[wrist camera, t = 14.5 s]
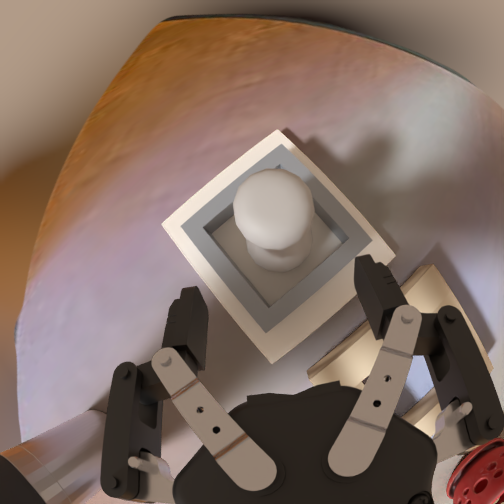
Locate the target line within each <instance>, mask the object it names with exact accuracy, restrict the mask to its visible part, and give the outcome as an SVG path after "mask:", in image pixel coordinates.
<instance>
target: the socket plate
mask: <svg viewBox="0 0 504 504" xmlns="http://www.w3.org/2000/svg"><path fill="white" fill-rule="evenodd" d="M266 168H270V169H285V170H287V171H289V172H291V173H293V174H295V175H297V176H299V177H300V178H301V179H302V180H303V182H304V183H305V184H306V185H307V186H308V188H309V189H310V190H311V194H312V199H313V204H314V209H315V212H314V216H313V220H312V224H311V230H312V236H313V243H312V247H311V251H310V255H309V256H308V257H307V258H306V259H305V260H304V262H303V263H302V264H301V265H300V266H299V267H297V268H294V269H292V270H289V271H287V272H271V271H268V270H266V269H264V268H263V267H261V266H259V265H257V264H256V263H255V262H254V260H253V259H252V257H251V256H250V254H249V253H248V251H247V244H246V238H245V237H244V235H243V234H242V232H241V231H240V229H239V228H238V226H237V225H236V222H235V215H234V209H233V202H234V199H235V196H236V193H237V190H238V187H239V186H240V185H241V184H242V183H243V182H244V181H245V180H246V179H247V178H248V177H249V176H250V175H251V174H253V173H256V172H259V171H261V170H264V169H266ZM162 226H163V227H164V229H165V230H166V231H167V233H168V234H169V236H170V237H171V238H172V240H173V241H174V243H175V244H176V245H177V247H178V248H179V249H180V251H181V252H182V253H183V255H184V256H185V257H186V259H187V260H188V261H189V263H190V264H191V265H192V267H193V268H194V269H195V271H196V272H197V273H198V275H199V276H200V277H201V279H202V280H203V281H204V282H205V284H206V285H207V286H208V288H209V289H210V290H211V291H212V293H213V294H214V295H215V297H216V298H217V299H218V300H219V302H220V303H221V304H222V305H223V307H224V308H225V309H226V310H227V312H228V313H229V314H230V315H231V317H232V318H233V319H234V320H235V322H236V323H237V324H238V325H239V326H240V328H241V329H242V330H243V331H244V332H245V334H246V335H247V336H248V337H249V338H250V340H251V341H252V342H253V343H254V344H255V346H256V347H257V348H258V349H259V350H260V351H261V353H262V354H263V355H264V356H265V357H266V358H267V360H268V361H269V362H270V363H271V364H273V363H274V362H276V361H277V360H278V359H280V358H281V357H282V356H284V355H285V354H286V353H288V352H289V351H290V350H291V349H293V348H294V347H295V346H297V345H298V344H299V343H300V342H302V341H303V340H304V339H305V338H307V337H308V336H309V335H310V334H311V333H313V332H314V331H315V330H316V329H317V328H319V327H320V326H321V325H322V324H323V323H325V322H326V321H327V320H328V319H329V318H330V317H332V316H333V315H334V314H335V313H336V312H337V311H338V310H340V309H341V308H342V307H343V306H344V305H345V304H346V303H347V302H349V301H350V300H351V299H352V298H353V297H354V296H355V295H356V294H357V292H356V290H355V286H354V263H355V257H357V256H361V255H366V254H370V255H371V256H372V258H373V260H374V262H375V263H378V262H382V263H383V264H384V265H385V266H386V265H387V264H388V263H389V262H390V261H391V260H392V259H393V258H394V257H395V256H396V255H395V254H394V253H393V251H392V250H391V249H390V248H389V246H388V245H387V244H386V243H385V241H384V240H383V239H382V238H381V236H380V235H379V234H378V233H377V232H376V230H375V229H374V228H373V227H372V226H371V225H370V223H369V222H368V221H367V220H366V219H365V218H364V216H363V215H362V214H361V213H360V212H359V211H358V210H357V208H356V207H355V206H354V205H353V204H352V203H351V202H350V201H349V200H348V199H347V197H346V196H345V195H344V194H343V193H342V192H341V191H340V190H339V189H338V188H337V187H336V186H335V185H334V184H333V182H332V181H331V180H330V179H329V178H328V177H327V176H326V175H325V174H324V173H323V172H322V171H321V170H320V169H319V168H318V167H317V166H316V165H315V164H314V163H313V162H312V161H311V160H310V159H309V158H308V157H307V156H306V155H305V154H304V153H303V152H302V151H301V150H299V149H298V148H297V147H296V146H295V145H294V144H293V143H292V142H291V141H290V140H289V139H288V138H287V137H286V136H284V135H283V134H282V133H281V132H280V131H279V130H278V129H277V130H276V131H274V132H273V133H272V134H270V135H269V136H267V137H266V138H265V139H263V140H262V141H261V142H259V143H258V144H257V145H255V146H254V147H253V148H251V149H250V150H249V151H248V152H246V153H245V154H244V155H242V156H241V157H240V158H239V159H237V160H236V161H235V162H233V163H232V164H231V165H230V166H228V167H227V168H226V169H225V170H223V171H222V172H221V173H220V174H218V175H217V176H216V177H215V178H214V179H212V180H211V181H210V182H209V183H208V184H206V185H205V186H204V187H203V188H202V189H200V190H199V191H198V192H197V193H196V194H195V195H193V196H192V197H191V198H190V199H189V200H188V201H186V202H185V203H184V204H183V205H182V206H181V207H180V208H178V209H177V210H176V211H175V212H174V213H173V214H172V215H171V216H170V217H168V218H167V219H166V220H165V221H164V222H163V223H162Z"/></svg>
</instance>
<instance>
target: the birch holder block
mask: <svg viewBox="0 0 504 504" xmlns="http://www.w3.org/2000/svg"><path fill="white" fill-rule="evenodd" d="M400 289H401V291H402V292H403V294H404V296H405V298H406V300H407V302H408V303H409V305H411V306H414V307H415V308H417V309H418V310H419V311H420V312H421V313H438V311H439V309H440V308H441V307H443V306H446V305H451V306H454V307H456V308H458V309H459V310H460V312H461V313H462V315H463V317H464V319H465V321H466V323H467V325H468V327H469V329H470V331H471V333H472V335H473V337H474V339H475V341H476V343H477V345H478V348H479V350H480V352H481V354H482V357H483V359H484V361H485V364H486V366H487V369H488V371H489V374H490V373H491V371H492V370H493V369H494V368H493V366H492V363H491V361H490V359H489V357H488V355H487V353H486V351H485V349H484V347H483V345H482V343H481V341H480V339H479V337H478V335H477V333H476V332H475V330H474V328H473V326H472V324H471V322H470V321H469V319H468V317H467V315H466V314H465V312H464V310H463V309H462V307H461V305H460V304H459V302H458V300H457V299H456V297H455V296H454V294H453V292H452V291H451V289H450V288H449V286H448V285H447V283H446V282H445V280H444V279H443V277H442V276H441V274H440V273H439V271H438V270H437V268H436V267H435V265H434V264H429V265H424V266H420V267H419V268H418V269H417V270H416V271H415V272H414V273H413V275H412V276H411V277H410V278H409V279H408V280H407V281H406V282H405V283H404V284H403V285H402V286H401V287H400ZM383 342H384V341H383V339H380V340H376V339H375V337H374V334H373V332H372V329H371V327H370V324H369V321H368V320H367V321H365V322H364V323H363V324H362V325H361V326H360V327H359V328H358V329H357V330H356V331H354V332H353V333H352V334H351V335H350V336H349V337H348V338H346V339H345V340H344V341H343V342H342V343H341V344H339V345H338V346H337V347H336V348H335V349H333V350H332V351H331V352H330V353H329V354H327V355H326V356H325V357H324V358H322V359H321V360H320V361H319V362H317V363H316V364H315V365H314V366H312V367H311V368H310V369H308V370H307V374H308V378H309V381H310V382H311V383H312V384H313V385H314V386H316V385H320V384H324V383H329V382H333V381H338V380H340V384H341V386H351V387H355V388H358V389H360V390H363V388H364V386H365V385H364V384H363V382H362V381H363V380H364V379H365V378H366V377H367V376H369V375H370V372H371V370H372V368H373V365H374V363H375V361H376V358H377V356H378V353H379V351H380V348H381V347H382V344H383ZM440 412H442V411H441V408H440V404H439V401H438V397H437V394H436V391H435V387H433V388H432V389H431V390H430V391H429V392H428V393H427V394H426V395H425V396H424V397H423V398H422V399H421V400H420V401H419V402H418V403H417V404H416V405H415V406H414V407H412V408H411V409H410V410H409V411H408V412H407V413H406V414H405V415H403V416H402V418H403V419H405V420H406V421H408V422H409V423H411V424H412V425H414V426H415V427H417V428H418V429H420V430H421V431H423V432H424V433H426V434H427V435H428V436H430V437H431V436H432V435H433V434H435V421H436V418H437V416H438V415H439V413H440Z"/></svg>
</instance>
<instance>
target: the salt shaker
mask: <svg viewBox="0 0 504 504" xmlns="http://www.w3.org/2000/svg"><path fill="white" fill-rule="evenodd" d="M233 209H234V215H235V222H236V225H237V226H238V228H239V229H240V231H241V232H242V234H243V235H244V237H245V238H246V244H247V251H248V253H249V254H250V256H251V257H252V259H253V260H254V262H255V263H256V264H257V265H259V266H261V267H263V268H264V269H266V270H268V271H271V272H287V271H289V270H292V269H294V268H297V267H299V266H300V265H301V264H302V263H303V262H304V260H305V259H306V258H307V257H308V256H309V255H310V251H311V247H312V243H313V236H312V230H311V224H312V220H313V216H314V212H315V209H314V204H313V199H312V194H311V190H310V189H309V188H308V186H307V185H306V184H305V183H304V182H303V180H302V179H301V178H300V177H299V176H297V175H295V174H293V173H291V172H289V171H287V170H285V169H270V168H266V169H264V170H261V171H259V172H256V173H253V174H251V175H250V176H249V177H248V178H247V179H246V180H245V181H244V182H243V183H242V184H241V185H240V186H239V187H238V190H237V193H236V196H235V199H234V202H233Z"/></svg>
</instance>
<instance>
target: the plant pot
mask: <svg viewBox="0 0 504 504" xmlns="http://www.w3.org/2000/svg"><path fill="white" fill-rule="evenodd" d="M446 492H447V496H448V497H449V498H451V499H453V504H493V503H494V502H495V501H496V500H497V499H498V498H499V497H500V498H499V501H498V502H497V503H496V504H501V503H502V502H504V439H501V438H495V439H493V440H491V441H489V442H488V443H486V444H484V445H482V446H480V447H478V448H476V449H474V450H473V451H472V452H471V453H470V454H469V455H468V456H467V457H466V458H465V459H464V460H463V461H462V462H461V463H460V464H459V465H458V467H457V468H456V469H455V471H454V472H453V474H452V475H451V477H450V479H449V481H448V484H447V489H446Z"/></svg>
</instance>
